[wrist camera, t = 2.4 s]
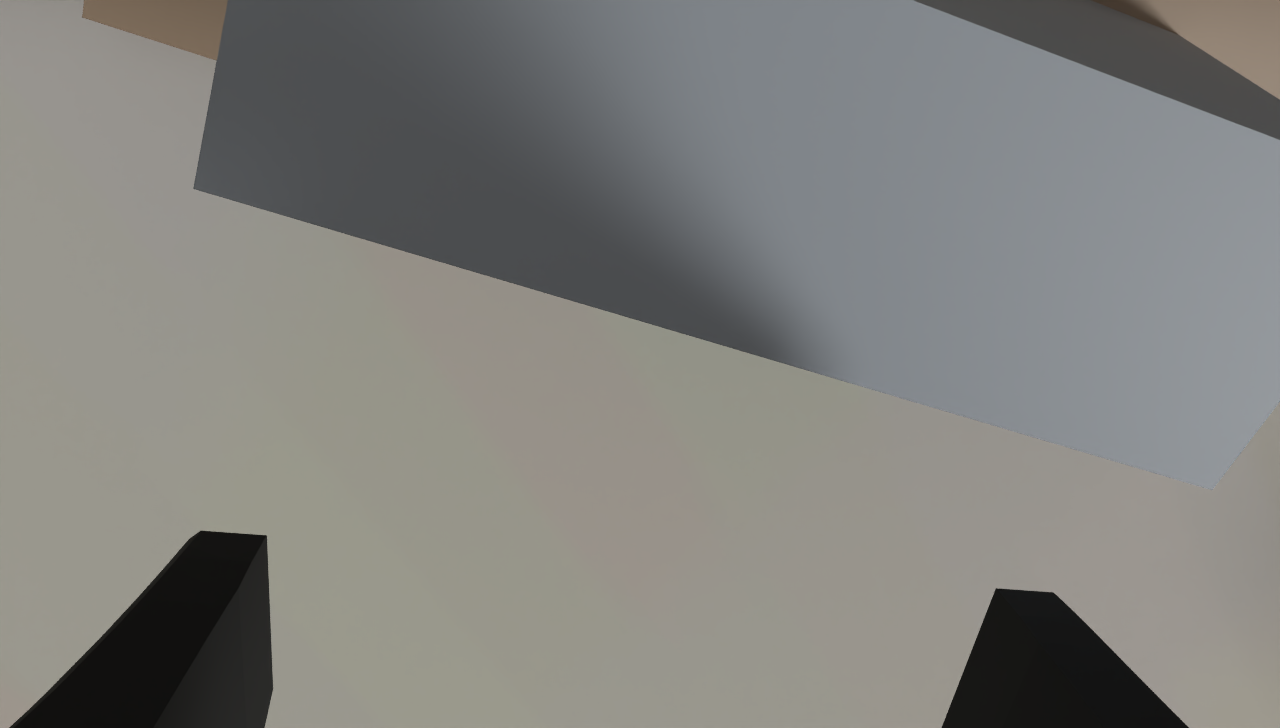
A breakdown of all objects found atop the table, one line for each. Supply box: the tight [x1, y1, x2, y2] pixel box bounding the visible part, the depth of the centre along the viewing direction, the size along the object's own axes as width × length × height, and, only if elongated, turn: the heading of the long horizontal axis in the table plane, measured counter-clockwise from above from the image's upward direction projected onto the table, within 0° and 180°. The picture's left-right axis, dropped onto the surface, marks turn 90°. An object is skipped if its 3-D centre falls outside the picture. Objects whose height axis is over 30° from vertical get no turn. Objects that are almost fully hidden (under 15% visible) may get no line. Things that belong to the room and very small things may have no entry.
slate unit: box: [82, 0, 1280, 490], centre depth 15 cm, size 18×6×7 cm, turn 70°
